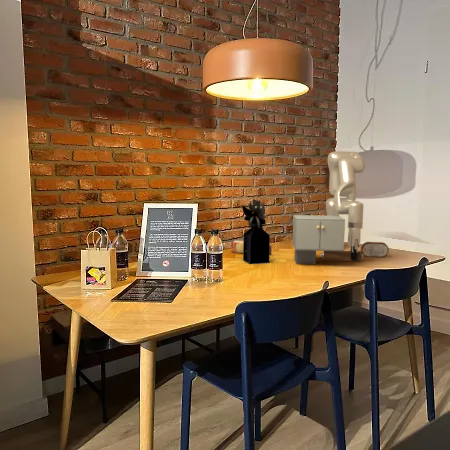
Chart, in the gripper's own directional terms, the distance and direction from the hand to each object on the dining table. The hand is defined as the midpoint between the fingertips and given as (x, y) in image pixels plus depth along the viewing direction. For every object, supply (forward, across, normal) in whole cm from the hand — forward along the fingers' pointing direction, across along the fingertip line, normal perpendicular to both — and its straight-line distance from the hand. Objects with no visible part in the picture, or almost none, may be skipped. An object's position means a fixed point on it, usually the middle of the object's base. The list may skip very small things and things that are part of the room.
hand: (353, 259), depth 233 cm
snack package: (+1, -13, -55) cm, 57 cm away
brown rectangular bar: (+1, 0, -6) cm, 6 cm away
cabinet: (+1, +7, -20) cm, 22 cm away
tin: (+1, -13, +14) cm, 19 cm away
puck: (+1, -8, -14) cm, 16 cm away
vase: (+1, +10, -52) cm, 53 cm away
